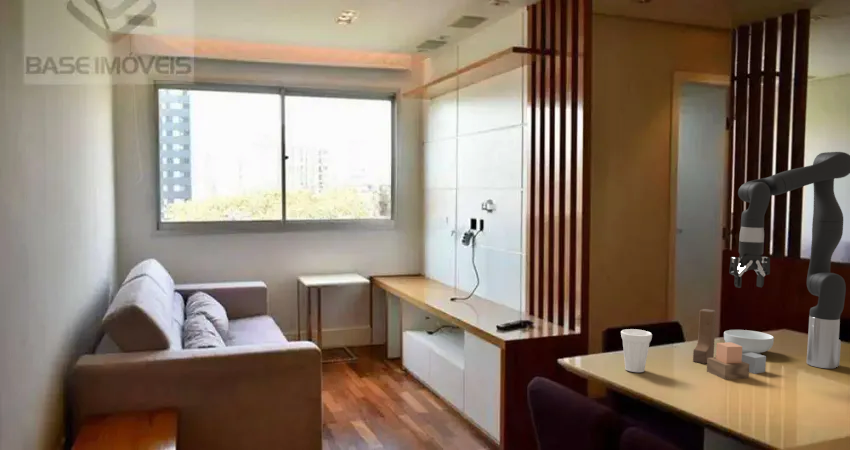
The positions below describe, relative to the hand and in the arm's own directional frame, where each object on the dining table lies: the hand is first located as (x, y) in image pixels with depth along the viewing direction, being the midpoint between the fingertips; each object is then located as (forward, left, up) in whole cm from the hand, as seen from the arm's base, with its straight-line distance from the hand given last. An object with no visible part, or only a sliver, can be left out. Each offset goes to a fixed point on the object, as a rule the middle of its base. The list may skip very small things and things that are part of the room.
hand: (748, 287), depth 223 cm
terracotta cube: (+12, +7, -23) cm, 27 cm away
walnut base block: (+12, +7, -28) cm, 32 cm away
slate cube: (0, +4, -28) cm, 28 cm away
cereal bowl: (-16, -18, -28) cm, 37 cm away
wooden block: (+9, -10, -28) cm, 31 cm away
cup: (+41, -2, -28) cm, 50 cm away
